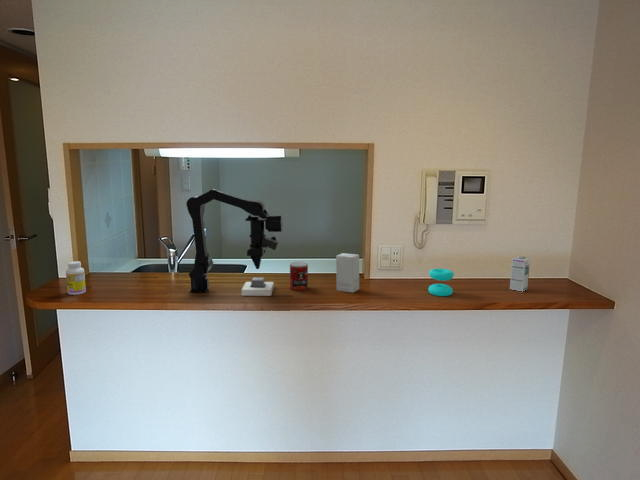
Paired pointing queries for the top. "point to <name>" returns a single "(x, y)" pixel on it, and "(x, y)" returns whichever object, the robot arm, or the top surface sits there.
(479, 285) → the top surface
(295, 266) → the canned food
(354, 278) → the skincare box
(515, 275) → the syrup box
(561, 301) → the top surface
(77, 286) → the supplement bottle
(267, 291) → the socket plate
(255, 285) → the plug
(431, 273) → the donuts
